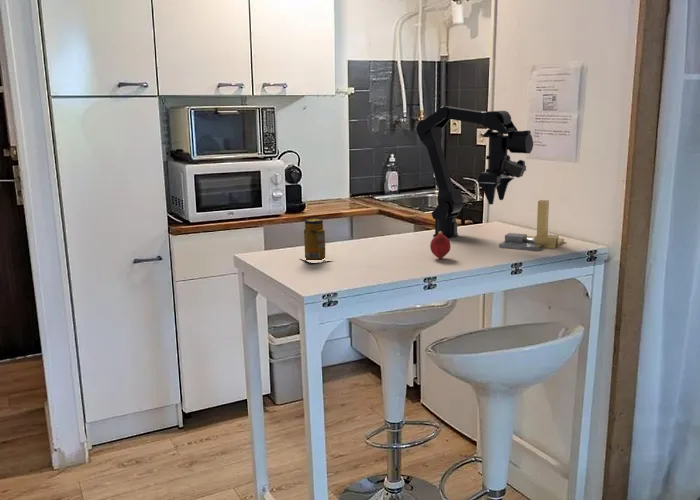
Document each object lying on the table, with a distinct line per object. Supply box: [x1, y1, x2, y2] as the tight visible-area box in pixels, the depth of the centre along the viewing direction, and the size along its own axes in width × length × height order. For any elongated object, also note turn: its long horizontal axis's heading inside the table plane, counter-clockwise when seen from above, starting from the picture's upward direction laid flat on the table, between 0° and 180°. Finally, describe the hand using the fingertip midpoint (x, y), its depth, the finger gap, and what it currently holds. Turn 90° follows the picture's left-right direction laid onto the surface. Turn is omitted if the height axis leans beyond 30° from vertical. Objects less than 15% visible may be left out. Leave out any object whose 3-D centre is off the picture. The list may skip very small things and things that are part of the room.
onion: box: [429, 231, 452, 260], centre depth 190 cm, size 6×6×8 cm
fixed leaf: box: [498, 232, 556, 252], centre depth 202 cm, size 15×9×3 cm, turn 58°
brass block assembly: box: [527, 199, 565, 249], centre depth 205 cm, size 12×11×14 cm
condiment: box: [303, 218, 326, 260], centre depth 193 cm, size 7×8×12 cm
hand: (496, 202), depth 208 cm, fingers open, 9 cm apart
